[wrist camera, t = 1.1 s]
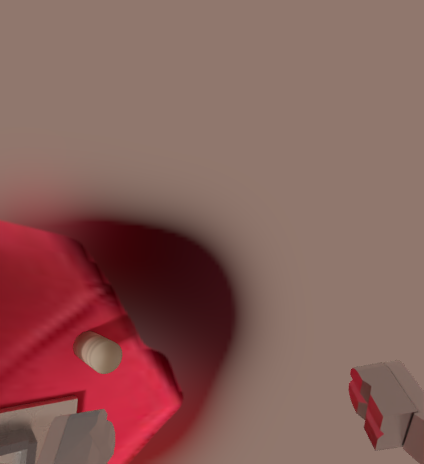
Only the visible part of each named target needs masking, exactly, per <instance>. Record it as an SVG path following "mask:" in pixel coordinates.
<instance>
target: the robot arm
mask: <svg viewBox="0 0 424 464" xmlns="http://www.w3.org/2000/svg"><path fill="white" fill-rule="evenodd" d="M350 375H351V377H352V379H353V380H352V381H351V382H350V383H349V395H350V399H351V402H352V404H353V407H354V409H355V411H356V413H357V414H358V415H359V416H361V417H362V418H363V419H364V420H365V424H364V429H365V431H366V433H367V435H368V437H369V439H370V441H371V443H372V445H373V447H374V449H375V450H383V449H390V448H397V447H403V449H404V450H405V451H406V452H407V453H408V454H409V455H411V456H412V457H413V458H414V459H415V460H416V461H417V462H419V463H420V464H424V391H423V390H422V388H421V387H420V386H419V384H418V383H417V382H416V380H415V379H414V378H413V376H412V375H411V373H410V372H409V371H408V369H407V368H406V367H405V365H404V364H403V363H402V362H401V361H399V360H395V361H390V362H384V363H382V362H381V363H376V364H370V365H365V366H360V367H354V368H352V369H351V373H350ZM106 419H107V413H106V411H105V410H104V409H100V410H94V411H88V412H81V413H75V414H67V415H61V416H56V417H55V418H54V420H53V421H52V423H51V425H50V428H49V431H48V433H47V436H46V439H45V442H44V444H43V447H42V450H41V453H40V456H39V458H38V461H37V464H108V463H107V462H108V461H109V460H110V458H111V457H112V455H113V454H114V447H115V431H114V426H113V424H112V422H110V421H108V420H106Z"/></svg>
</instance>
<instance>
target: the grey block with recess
mask: <svg viewBox="0 0 424 464" xmlns="http://www.w3.org/2000/svg"><path fill="white" fill-rule="evenodd" d="M77 402H78V398H77V397H76V396H75V395H73V396H68V397H62V398H57V399H51V400H46V401H40V402H35V403H29V404H24V405H18V406H13V407H7V408H2V409H0V464H37V461H38V458H39V456H40V453H41V450H42V447H43V444H44V442H45V439H46V436H47V433H48V431H49V428H50V425H51V423H52V421H53V420H54V418H55V417H56V416H61V415H67V414H75V413H76V412H77Z"/></svg>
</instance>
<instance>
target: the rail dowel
mask: <svg viewBox="0 0 424 464" xmlns="http://www.w3.org/2000/svg"><path fill="white" fill-rule="evenodd" d="M73 351H74V353H75V355H76V356H77V357H79V358H80V359H81V360H82V361H84V362H85V363H86V364H88V365H89V366H90V367H92V368H93V369H94V370H95V371H97V372H98V373H101V374H107V373H110V372H112V371H114V370H115V369H116V368H117V367H118V365H119V364H120V362H121V359H122V350H121V347H120V346H119V345H118V344H117V343H115V342H113V341H111V340H109V339H107V338H105V337H103V336H101V335H99V334H97V333H95V332H92V331H86V332H83V333H81V334H80V335H79V336H78V337H77V338H76V339H75V341H74V344H73Z"/></svg>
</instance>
